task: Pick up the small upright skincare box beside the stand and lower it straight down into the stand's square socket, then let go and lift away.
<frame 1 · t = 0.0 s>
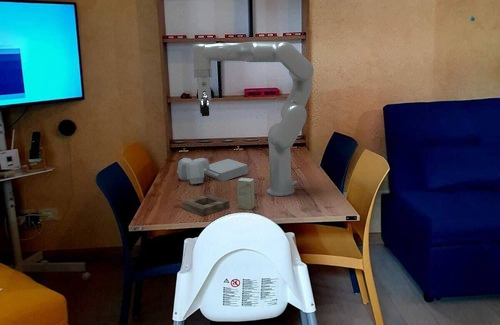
hand: (204, 114, 207), 37 cm above the table, fingers open, 9 cm apart
socket stand: (205, 208, 201), on the table
skincare box: (246, 207, 201), on the table
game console: (212, 178, 249), on the table
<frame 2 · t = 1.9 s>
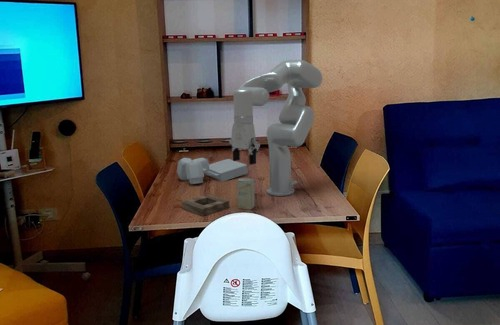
hand: (244, 162, 196), 19 cm above the table, fingers open, 9 cm apart
nothing on the table moved.
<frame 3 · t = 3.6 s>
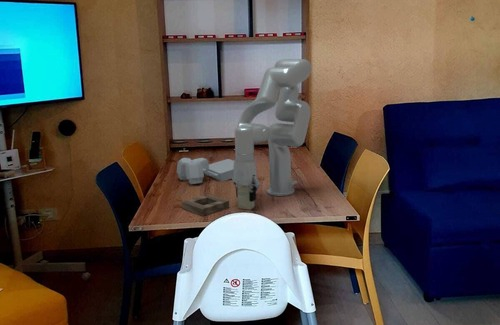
hand: (246, 198, 200), 4 cm above the table, fingers closed on skincare box, 7 cm apart
skincare box: (246, 207, 200), on the table, touching gripper
everything else where it was.
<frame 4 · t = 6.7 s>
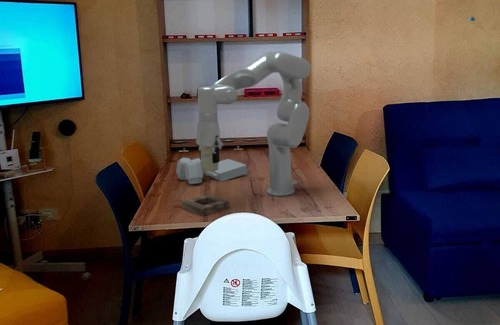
hand: (209, 161, 196), 20 cm above the table, fingers closed on skincare box, 7 cm apart
skincare box: (210, 170, 197), point 16 cm above the table, touching gripper
everything else where it was.
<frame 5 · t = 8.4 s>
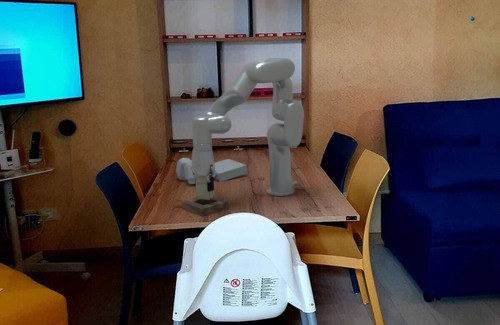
hand: (204, 188, 199), 8 cm above the table, fingers closed on skincare box, 7 cm apart
skincare box: (205, 198, 200), point 4 cm above the table, touching gripper
everything else where it was.
when the fingers open (5 cm above the table, at t = 9.6 s): skincare box drops 1 cm, resting in socket stand.
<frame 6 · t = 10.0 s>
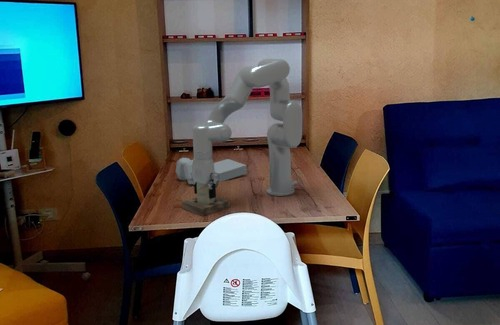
hand: (205, 195, 200), 6 cm above the table, fingers open, 9 cm apart
skincare box: (206, 208, 201), resting in socket stand
everything else where it was.
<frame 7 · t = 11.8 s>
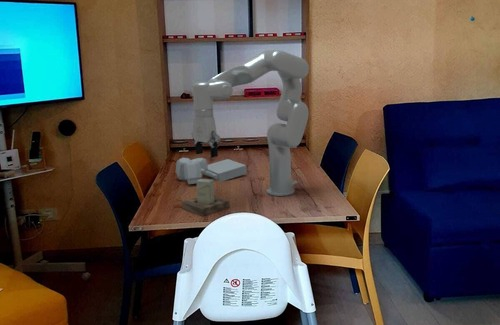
hand: (206, 155, 196), 22 cm above the table, fingers open, 9 cm apart
nothing on the table moved.
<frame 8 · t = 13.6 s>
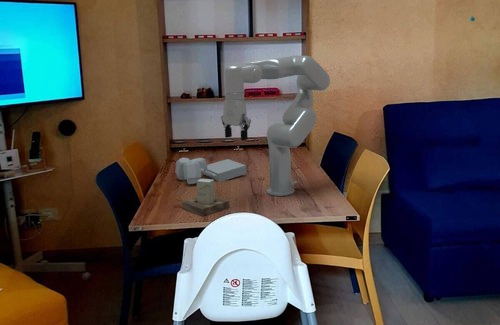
hand: (236, 138, 199), 28 cm above the table, fingers open, 9 cm apart
nothing on the table moved.
at the end: skincare box 0.3 cm off-centre on the socket stand, point 0.0 cm above the socket stand's base; skincare box tilted 0°; the gripper is holding nothing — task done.
